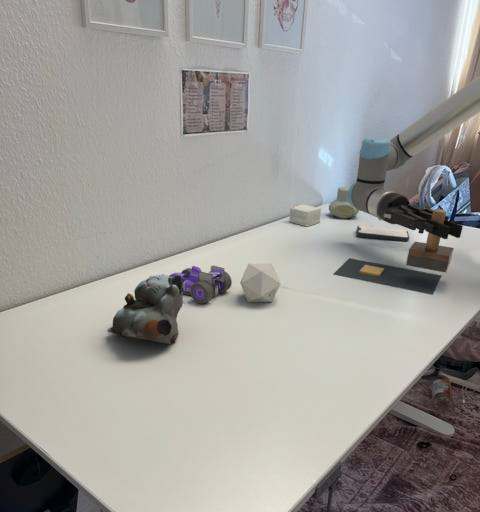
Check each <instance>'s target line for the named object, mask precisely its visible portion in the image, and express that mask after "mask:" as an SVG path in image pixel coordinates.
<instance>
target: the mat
mask: <svg viewBox="0 0 480 512" xmlns="http://www.w3.org/2000/svg"><path fill="white" fill-rule="evenodd" d="M364 265H369V266H374V267H379V268H384V271H383V272H382V273H381V275H380V276H379V277H378V276H373V275H368V274H363V273H359V272H360V270H361V269H362V268H363V267H364ZM332 275H333V276H338V277H342V278H349V279H353V280H357V281H363V282H368V283H373V284H377V285H383V286H388V287H391V288H397V289H402V290H406V291H412V292H417V293H420V294H421V293H422V294H425V295H426V294H427V295H430V296H433V295H434V293H435V291H436V289H437V287H438V285H439V284H440V283H439V282H440V280H441V278H442V275H441V274H437V273H431V272H426V271H420V270H415V269H410V268H405V267H400V266H393V265H388V264H383V263H378V262H372V261H367V260H361V259H356V258H351V257H349V258H348V259H347V260H346V261H345V262H344V263H342V265H341V266H340V267H338V269H337V270H336V271H334V272H333V273H332Z"/></svg>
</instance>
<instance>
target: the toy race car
mask: <svg viewBox="0 0 480 512" xmlns="http://www.w3.org/2000/svg"><path fill="white" fill-rule="evenodd" d="M178 275H181V282H182V289H181V292H182V294H183V295H187V296H190V297H191V298H192V300H193V301H194V302H195V303H197V304H200V305H203V304H206V303H207V302H209V301H211V300H212V299H213V298H214V297H216V296H218V295H219V294H223V293H225V292H226V291H228V290H230V289H231V287H232V283H233V282H232V277H231V275H230V274H229V273H228V272H227V271H226V270H225V267H220V266H217V265H210V271H208V272H205V271H203V270H202V269H201V268H200V267H198V266H196V265H192V266H191V267H188V268H185V269H182V270H181V272H173V273H171V274H169V275H168V276H169V277H172V278H174V277H175V276H178Z"/></svg>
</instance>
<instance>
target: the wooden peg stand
mask: <svg viewBox="0 0 480 512" xmlns="http://www.w3.org/2000/svg"><path fill="white" fill-rule="evenodd" d="M432 210H433V214H432V219H431V220H433V221H436V222H439V223H441V224H444V220H445V216H447V210H445V209H441V208H433V209H432ZM427 233H428V234H427V237H426V242H422V241H414V242H413V243H412V244H411V246H410V247H409V248H408V253H407V258H406V263H405V265H406V266H409V267H412V268H413V267H414V268H417V269H418V268H419V269H424V270H428V271H429V270H430V271H435V272H439V273H447V271H448V269H449V267H450V264H451V261H452V256H453V253H454V247H452V246H451V247H450V246H444V245H440V242H441V239H442V238H441V237H438V236H436V235H434V234H431V233H429V232H427Z"/></svg>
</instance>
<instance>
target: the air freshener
mask: <svg viewBox="0 0 480 512" xmlns="http://www.w3.org/2000/svg"><path fill="white" fill-rule="evenodd" d="M350 187H351V186H340V187H338V188H337V194H336V199H334V200H332V201H331V202H330V203H329V204H328V211H329V213H330V214H331V215H332V216H334V217H336V218H338V219H342V220H343V219H344V220H347V219H351V218H354V217H355V216H356V215H358V214H359V213H360V210H358V209H356V208H355V207H353V206H352V205H350V203H349V202H348V199H347V193H348V190H349V189H350Z"/></svg>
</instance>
